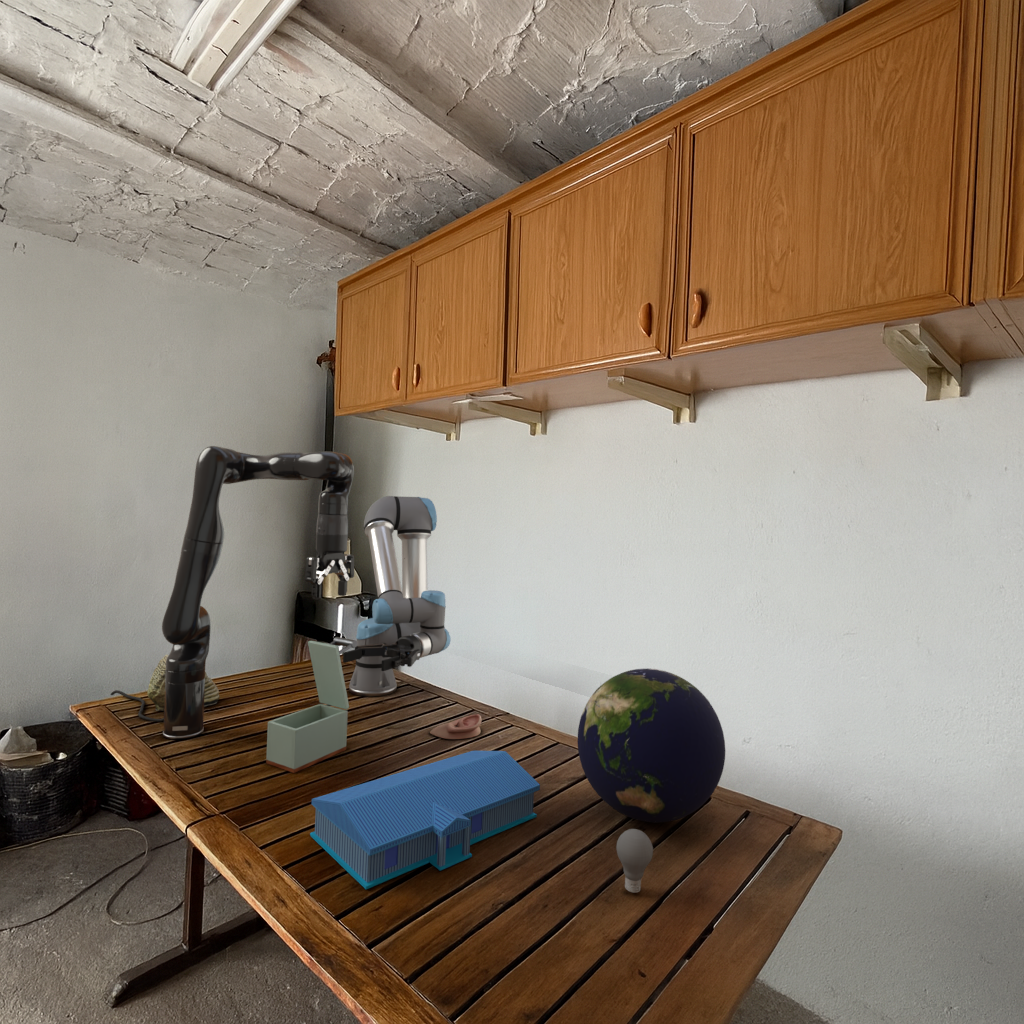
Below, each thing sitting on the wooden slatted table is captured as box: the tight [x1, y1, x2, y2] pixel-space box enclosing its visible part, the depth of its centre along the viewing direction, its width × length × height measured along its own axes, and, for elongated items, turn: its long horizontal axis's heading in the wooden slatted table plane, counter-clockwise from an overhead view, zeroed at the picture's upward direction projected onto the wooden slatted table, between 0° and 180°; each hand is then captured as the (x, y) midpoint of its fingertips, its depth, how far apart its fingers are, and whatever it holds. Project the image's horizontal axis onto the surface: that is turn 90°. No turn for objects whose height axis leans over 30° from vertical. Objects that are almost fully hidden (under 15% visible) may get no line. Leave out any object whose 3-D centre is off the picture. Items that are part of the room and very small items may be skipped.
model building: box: [309, 750, 541, 890], centre depth 123 cm, size 39×24×10 cm, turn 132°
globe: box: [577, 667, 726, 824], centre depth 132 cm, size 30×30×30 cm
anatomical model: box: [429, 713, 482, 740], centre depth 174 cm, size 13×4×12 cm
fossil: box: [147, 654, 221, 712], centre depth 185 cm, size 9×18×15 cm, turn 132°
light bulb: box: [615, 828, 654, 894], centre depth 106 cm, size 6×6×10 cm
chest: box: [265, 703, 349, 774], centre depth 154 cm, size 17×9×10 cm, turn 151°
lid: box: [307, 636, 357, 710], centre depth 162 cm, size 17×9×9 cm
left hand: (329, 597), depth 158 cm, fingers open, 8 cm apart
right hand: (362, 661), depth 170 cm, fingers open, 13 cm apart
